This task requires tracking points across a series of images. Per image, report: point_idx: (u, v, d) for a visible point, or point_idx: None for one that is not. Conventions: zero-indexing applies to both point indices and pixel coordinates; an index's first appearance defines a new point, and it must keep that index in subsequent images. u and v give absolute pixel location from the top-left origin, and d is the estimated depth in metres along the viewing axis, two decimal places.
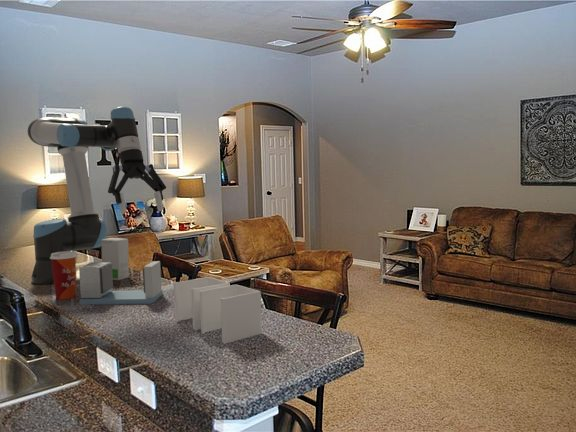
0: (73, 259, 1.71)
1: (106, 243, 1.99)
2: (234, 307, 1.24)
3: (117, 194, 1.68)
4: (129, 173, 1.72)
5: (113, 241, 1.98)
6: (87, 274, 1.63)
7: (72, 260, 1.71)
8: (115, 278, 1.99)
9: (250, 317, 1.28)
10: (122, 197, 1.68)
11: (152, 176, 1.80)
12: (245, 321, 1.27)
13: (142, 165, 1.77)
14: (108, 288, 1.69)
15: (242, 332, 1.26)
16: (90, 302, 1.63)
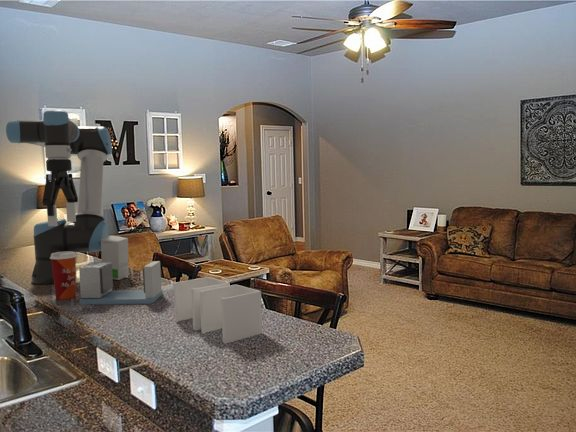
0: (73, 259, 1.71)
1: (105, 242, 1.97)
2: (235, 307, 1.25)
3: (51, 206, 1.63)
4: (61, 184, 1.67)
5: (113, 242, 1.96)
6: (87, 274, 1.63)
7: (72, 260, 1.71)
8: (115, 278, 1.99)
9: (251, 317, 1.28)
10: (55, 210, 1.64)
11: None
12: (245, 321, 1.27)
13: (66, 175, 1.73)
14: (108, 288, 1.69)
15: (243, 331, 1.26)
16: (90, 302, 1.63)
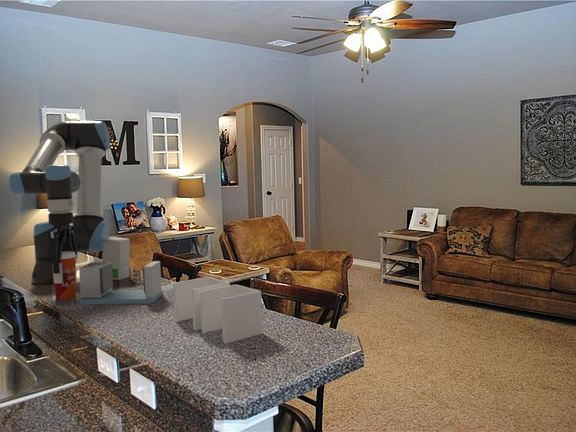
0: (73, 259, 1.71)
1: (107, 242, 1.99)
2: (235, 307, 1.24)
3: (57, 264, 1.66)
4: (64, 239, 1.69)
5: (115, 241, 1.98)
6: (87, 274, 1.63)
7: (72, 260, 1.71)
8: (115, 278, 1.99)
9: (251, 317, 1.28)
10: (61, 268, 1.68)
11: None
12: (245, 321, 1.27)
13: (69, 227, 1.74)
14: (108, 288, 1.69)
15: (243, 332, 1.26)
16: (90, 302, 1.63)
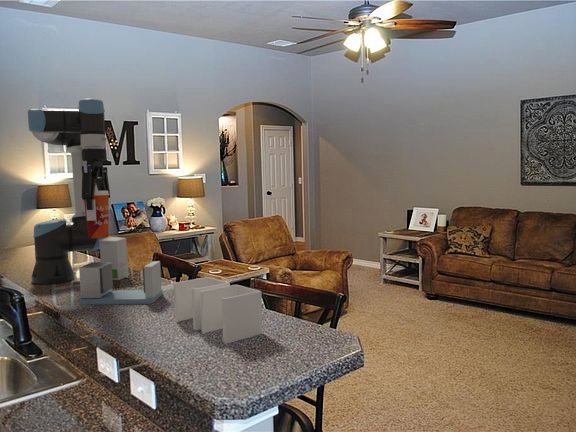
0: (106, 197, 1.66)
1: (104, 243, 1.98)
2: (235, 307, 1.24)
3: (90, 200, 1.61)
4: (97, 175, 1.64)
5: (111, 242, 1.97)
6: (87, 274, 1.63)
7: (105, 198, 1.65)
8: (115, 278, 1.99)
9: (251, 317, 1.28)
10: (94, 204, 1.62)
11: None
12: (246, 321, 1.27)
13: (102, 165, 1.69)
14: (108, 288, 1.69)
15: (243, 332, 1.26)
16: (90, 302, 1.63)
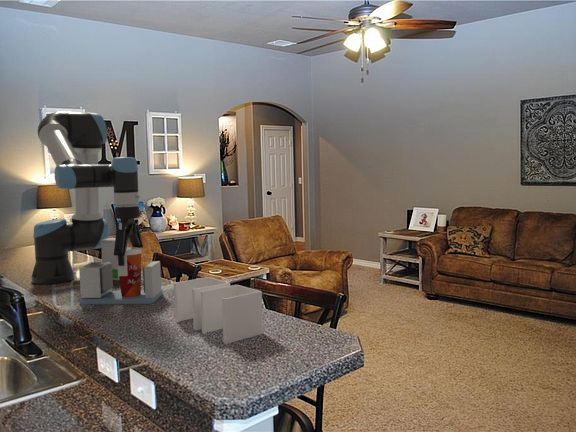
0: (139, 255, 1.66)
1: (106, 243, 1.99)
2: (235, 307, 1.24)
3: (122, 256, 1.59)
4: (130, 232, 1.64)
5: (113, 241, 1.98)
6: (87, 274, 1.63)
7: (138, 257, 1.66)
8: (115, 278, 1.99)
9: (251, 317, 1.28)
10: (126, 260, 1.60)
11: None
12: (246, 321, 1.27)
13: (134, 221, 1.69)
14: (108, 288, 1.69)
15: (243, 332, 1.26)
16: (90, 302, 1.63)
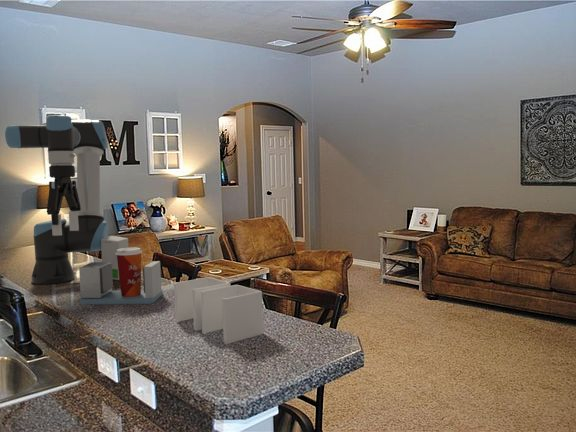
0: (139, 255, 1.66)
1: (106, 242, 1.98)
2: (236, 307, 1.24)
3: (56, 215, 1.59)
4: (65, 191, 1.63)
5: (113, 241, 1.96)
6: (87, 274, 1.63)
7: (138, 257, 1.66)
8: (115, 278, 1.99)
9: (252, 317, 1.27)
10: (60, 219, 1.61)
11: None
12: (246, 321, 1.26)
13: (70, 181, 1.69)
14: (108, 288, 1.69)
15: (244, 332, 1.26)
16: (90, 302, 1.63)
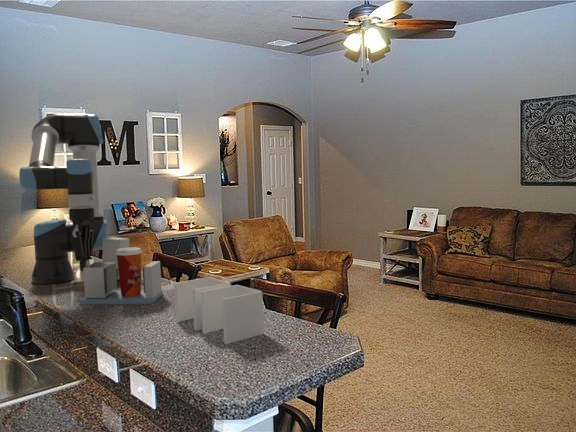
0: (139, 255, 1.66)
1: (107, 242, 2.00)
2: (236, 307, 1.24)
3: (84, 262, 1.66)
4: (86, 235, 1.66)
5: (114, 240, 1.99)
6: (91, 274, 1.63)
7: (138, 257, 1.66)
8: None
9: (252, 317, 1.27)
10: None
11: None
12: (247, 321, 1.26)
13: (89, 223, 1.70)
14: (112, 288, 1.69)
15: (244, 332, 1.26)
16: (90, 302, 1.63)
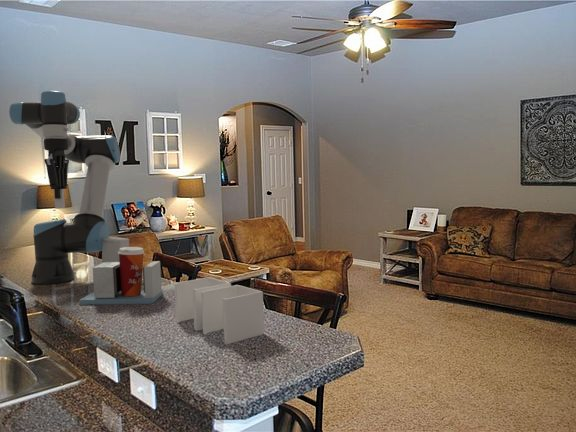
0: (141, 255, 1.66)
1: (107, 242, 1.99)
2: (236, 307, 1.24)
3: (58, 190, 1.75)
4: (60, 164, 1.74)
5: (114, 241, 1.98)
6: (100, 274, 1.63)
7: (140, 257, 1.66)
8: None
9: (252, 317, 1.27)
10: (62, 193, 1.76)
11: None
12: (247, 321, 1.26)
13: (64, 154, 1.78)
14: None
15: (244, 332, 1.26)
16: (90, 302, 1.63)
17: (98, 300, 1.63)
